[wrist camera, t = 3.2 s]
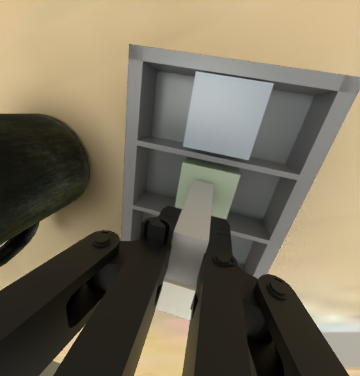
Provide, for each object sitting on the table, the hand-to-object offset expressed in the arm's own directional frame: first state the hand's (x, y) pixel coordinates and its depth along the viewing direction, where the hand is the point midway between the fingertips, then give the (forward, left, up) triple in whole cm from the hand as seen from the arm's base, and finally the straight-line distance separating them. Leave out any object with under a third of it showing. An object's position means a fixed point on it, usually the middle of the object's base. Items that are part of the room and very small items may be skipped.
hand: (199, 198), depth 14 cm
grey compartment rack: (0, -3, -5) cm, 6 cm away
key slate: (0, +6, -2) cm, 6 cm away
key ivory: (0, -12, -2) cm, 12 cm away
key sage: (0, 0, -3) cm, 3 cm away
